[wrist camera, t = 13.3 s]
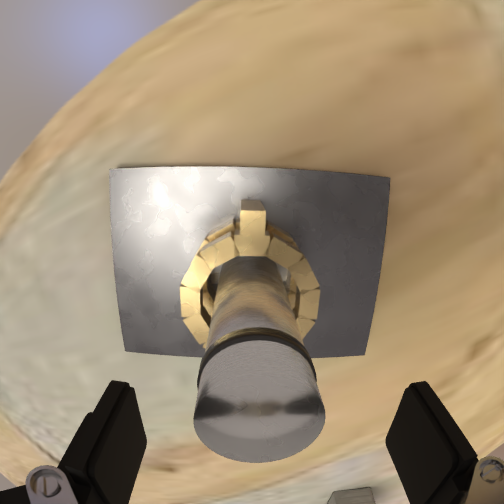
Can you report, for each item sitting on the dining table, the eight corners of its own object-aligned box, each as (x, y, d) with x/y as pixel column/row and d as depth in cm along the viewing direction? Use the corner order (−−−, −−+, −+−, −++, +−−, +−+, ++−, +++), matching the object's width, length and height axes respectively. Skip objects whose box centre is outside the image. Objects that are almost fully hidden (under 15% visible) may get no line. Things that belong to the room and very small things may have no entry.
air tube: (280, 244, 24) (339, 370, 9) (277, 300, 26) (316, 460, 10) (219, 242, 24) (184, 371, 9) (219, 299, 25) (195, 462, 10)
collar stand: (382, 176, 25) (429, 182, 17) (359, 346, 29) (387, 394, 22) (116, 168, 24) (72, 171, 17) (129, 343, 28) (102, 390, 21)
